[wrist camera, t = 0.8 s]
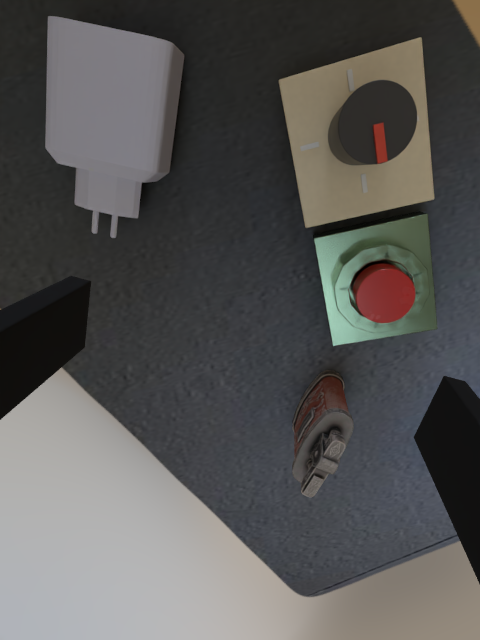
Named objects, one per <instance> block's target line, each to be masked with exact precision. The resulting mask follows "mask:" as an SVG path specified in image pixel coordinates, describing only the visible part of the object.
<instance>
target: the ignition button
mask: <svg viewBox="0 0 480 640" xmlns="http://www.w3.org/2000/svg"><path fill="white" fill-rule="evenodd" d="M353 297H354V300H355V302H356V305H357V307H358V309H359V311H360V312H361V313H362V315H363V316H364V317H366V318H367V319H369V320H371V321H373V322H377V323H390V322H393V321H396V320H398V319H400V318H402V317H403V316H404V315H406V314H407V313H408V312H409V310H410V309H411V307H412V306H413V303H414V300H415V287H414V284H413V282H412V280H411V279H410V278H409V277H408V276H407V275H406V274H405V273H404V272H403V271H402V270H401V269H400V268H398V267H396V266H394V265H392V264H387V263H379V264H374V265H371V266H369V267H367V268H366V269H364V270H363V271H362V272H361V273H360V274H359V275H358V277H357V278H356V280H355V282H354V285H353Z"/></svg>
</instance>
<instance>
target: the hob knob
mask: <svg viewBox="0 0 480 640" xmlns="http://www.w3.org/2000/svg"><path fill="white" fill-rule="evenodd" d="M416 125H417V109H416V105H415V102H414V100H413V97H412V96H411V94H410V93H409V92H408V91H407V89H405V88H404V87H403V86H402V85H400V84H398V83H396V82H394V81H389V80H376V81H371V82H369V83H366V84H364V85H362V86H361V87H359V88H358V89H356V90H355V91H354V92H353V93H352V94H351V95H350V96H349V97H348V99H347V100H346V101H345V103H344V104H343V105H342V106H341V108H340V109H339V110H338V112H337V113H336V114H335V116H334V117H333V119H332V121H331V123H330V126H329V129H328V143H329V147H330V150H331V152H332V153H333V155H334V156H335V157H336V158H337V159H338V160H339V161H341V162H343V163H345V164H348V165H373V164H381V163H385V162H387V161H390V160H392V159H393V158H395V157H397V156H398V155H399V154H400V153H401V152H402V151H403V150H404V149H405V148H406V147H407V146H408V144H409V143H410V141H411V139H412V137H413V135H414V132H415V129H416Z"/></svg>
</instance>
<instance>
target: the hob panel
mask: <svg viewBox="0 0 480 640" xmlns="http://www.w3.org/2000/svg"><path fill="white" fill-rule="evenodd" d="M376 80H389V81H394V82H396V83H398V84H400V85H402V86H403V87H404V88H405V89H407V91H408V92H409V93H410V94H411V96H412V97H413V100H414V102H415V105H416V109H417V125H416V129H415V132H414V135H413V137H412V139H411V141H410V143H409V144H408V146H407V147H406V148H405V149H404V150H403V151H402V152H401V153H400V154H399V155H398V156H397V157H395V158H393V159H392V160H390V161H387V162H385V163H381V164H373V165H348V164H345V163H343V162H341V161H339V160H338V159H337V158H336V157H335V156H334V155H333V153H332V152H331V150H330V147H329V143H328V129H329V126H330V123H331V121H332V119H333V117H334V116H335V114H336V113H337V112H338V110H339V109H340V108H341V106H342V105H343V104H344V103H345V101H346V100H347V99H348V97H349V96H350V95H351V94H352V93H353V92H354V91H355V90H356V89H358V88H359V87H361V86H362V85H364V84H366V83H369V82H371V81H376ZM279 86H280V92H281V97H282V103H283V108H284V114H285V119H286V125H287V130H288V136H289V141H290V146H291V152H292V157H293V163H294V168H295V174H296V179H297V185H298V190H299V196H300V201H301V207H302V212H303V218H304V223H305V227H306V228H309V227H313V226H318V225H322V224H327V223H331V222H336V221H340V220H345V219H349V218H354V217H358V216H363V215H367V214H372V213H376V212H380V211H385V210H389V209H394V208H398V207H403V206H407V205H412V204H416V203H421V202H425V201H430V200H434V188H433V175H432V163H431V150H430V137H429V125H428V112H427V99H426V87H425V74H424V61H423V49H422V38H421V37H420V38H417V39H413V40H410V41H407V42H403V43H400V44H396V45H393V46H390V47H386V48H383V49H380V50H376V51H373V52H370V53H366V54H363V55H360V56H356V57H353V58H350V59H346V60H343V61H340V62H336V63H333V64H330V65H326V66H323V67H320V68H316V69H313V70H310V71H306V72H303V73H299V74H296V75H293V76H289V77H286V78H283V79H280V80H279Z"/></svg>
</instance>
